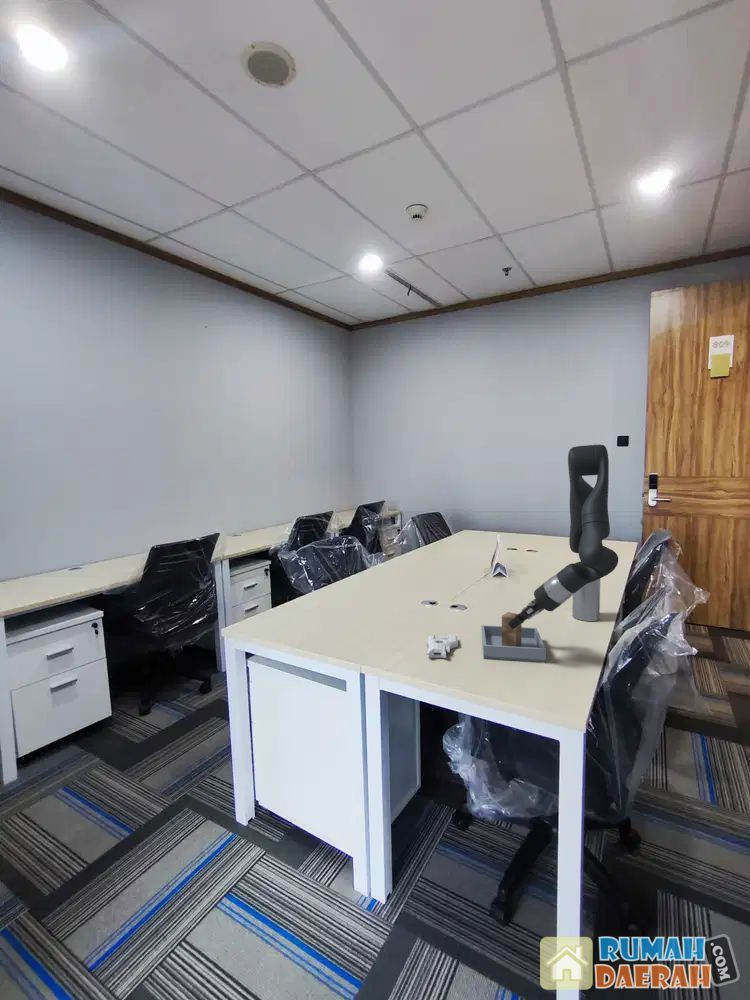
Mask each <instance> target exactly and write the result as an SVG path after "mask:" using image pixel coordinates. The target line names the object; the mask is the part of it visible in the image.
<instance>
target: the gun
mask: <svg viewBox="0 0 750 1000" xmlns="http://www.w3.org/2000/svg"><path fill="white" fill-rule="evenodd" d="M448 635H449V636H448ZM448 635H446V636H436V634H431V635H428V638H427V641H426V642H425V646H426V647H428V648H427V651H426V652H425V655H427V656H428V658H432V659H446V658H447V653H450V650H452V649H456V648H458V646H459V642H458V636H457V635H455V634H452V633H450V634H448Z"/></svg>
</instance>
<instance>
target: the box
mask: <svg viewBox="0 0 750 1000" xmlns="http://www.w3.org/2000/svg"><path fill="white" fill-rule="evenodd" d="M481 645H482V655H483V660H495V661H496V660H498V661H499V660H500V661H510V662H512V661H514V662H526V661H529V662H530V663H541V662H546V663H547V661H546V660H547V648H546V646H545V644H544V641H543V640H542V637H541V635H540V632H539V630H538V627H525V626H524V627H523V626H521V647H514V646H502V625H486V624H482V625H481ZM529 662H528V663H529Z"/></svg>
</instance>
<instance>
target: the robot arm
mask: <svg viewBox="0 0 750 1000" xmlns="http://www.w3.org/2000/svg"><path fill="white" fill-rule="evenodd" d="M609 463H610V460H609V453H608V450H607V447H606V446H605V444H588V445H587V444H586V445H579V446H573V447H571V448H570V449H569V451H568V454H567V466H568V476H569V515H570V517H569V519H570V528H569V541H568V543H569V549H570V551H571V552H573V553H574V554H578V558H579V561H576V562H574V563H572V562H571V563H569V564H568V565H566V566H564V567H563V568H562V569H561V570H560V571H558V572H557V573H555V574H554V575H553V576H551V577H550V578H548V579H547V580H546V581H545V582H543V583H542V584H541V585H540V586H539V587H538V588H537V587H536V589H535V590H534V592H533V595H534V599H533V600H531V601H529V603H528V604H527V605H526V606H525V607H523V608H522V609H521V612H520V613H517V614H518V615H516V617H515V618H514V619H513V620H512V621H510V622H509V623H508V624H509V626H510V627H511V628H512V629H514V628H516V627H517V626H518V625H519V624H521V623H522V624H523V623H525V621H527V620H531V619H532V618H533V617H535V616H537V615H539V614H540V613H542V611H544V610H545V611H547V612H554V610H557V609H558V608H559V607H560V606H561V605H563V604H564V603H566V602H567V601H569V600H570V599H571V597H572V612H571V613H572V616H571V617H573V618H574V619H576V620H579V621H584V622H596V621H599V620H600V616H601V615H600V613H601V612H600V609H601V608H600V607H601V605H600V604H601V579H602V578H604V577H606V576H608V575H609V574H611V573H612V572H613V571H614V570H615V569H616V568H617V566H618V564H619V556H618V554H617V552H615V551H614V550H613V549H611V548H609V547H607V546H606V545H603V540H605V539H607V538H608V537H610V533H611V528H610V516H609V508H608V507H609V506H608V505H609V502H608V501H609V484H610V483H609V481H610V479H609V475H610V473H609V472H610V471H609V470H610V467H609V466H610V465H609ZM584 476H585V477H586V476H596V477H597V478H596V483H595V485H594V487H592V486H591V484H590V483H588V482H587V481H586V480H585V479H584V478H583V477H584ZM520 615H522V617H521V616H520Z"/></svg>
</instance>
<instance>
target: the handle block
mask: <svg viewBox="0 0 750 1000" xmlns="http://www.w3.org/2000/svg"><path fill="white" fill-rule="evenodd" d="M518 614H519V613H515V612H510V611H507V612H505V613H504V614H502V615H501V626H502V646H514V647H521V627H523V626H522V624H523V623H521V624H519V625H518V626H517V627H516V628H514V629H512V628H511V627H510V626H509V624H508V623H509V622H510V621H512V620H513V619H514V618H515V617H516V615H518ZM520 616H521V617H522V615H520Z"/></svg>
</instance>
